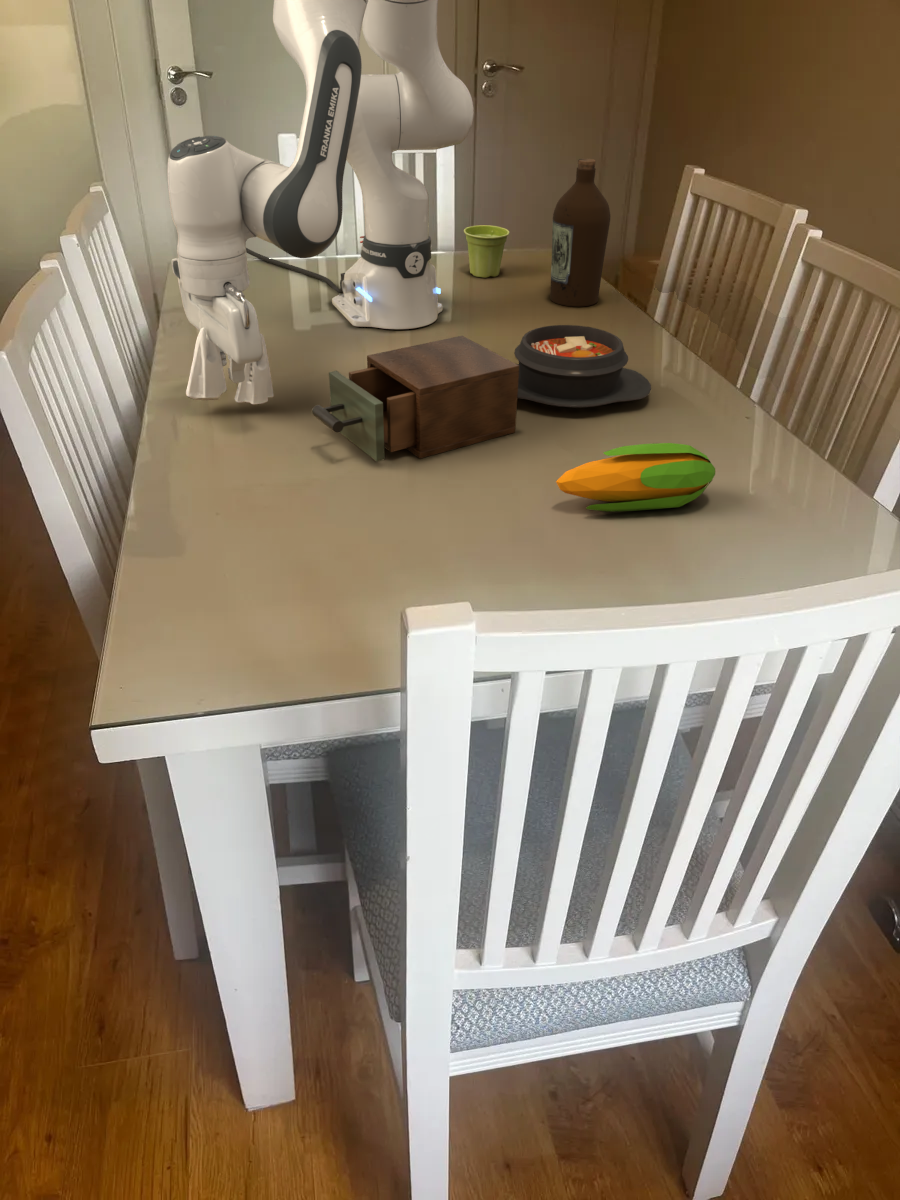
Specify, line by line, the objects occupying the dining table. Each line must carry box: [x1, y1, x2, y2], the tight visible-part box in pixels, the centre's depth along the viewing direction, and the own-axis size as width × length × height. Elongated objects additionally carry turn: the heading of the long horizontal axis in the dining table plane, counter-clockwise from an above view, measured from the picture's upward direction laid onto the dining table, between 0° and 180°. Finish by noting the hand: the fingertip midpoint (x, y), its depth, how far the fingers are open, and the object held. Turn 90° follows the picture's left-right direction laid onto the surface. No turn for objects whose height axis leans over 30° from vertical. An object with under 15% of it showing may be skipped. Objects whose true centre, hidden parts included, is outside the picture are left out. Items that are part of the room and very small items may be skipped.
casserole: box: [513, 324, 652, 409], centre depth 138 cm, size 25×19×8 cm
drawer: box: [311, 367, 416, 462], centre depth 123 cm, size 19×13×8 cm, turn 123°
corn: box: [555, 442, 716, 513], centre depth 110 cm, size 7×8×20 cm
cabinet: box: [366, 335, 519, 459], centre depth 127 cm, size 16×14×10 cm
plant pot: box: [463, 224, 510, 279], centre depth 189 cm, size 9×9×9 cm
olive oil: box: [549, 158, 611, 308], centre depth 171 cm, size 11×11×25 cm
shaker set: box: [185, 328, 275, 405], centre depth 129 cm, size 12×4×11 cm, turn 97°
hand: (228, 372), depth 130 cm, fingers closed on shaker set, 5 cm apart
